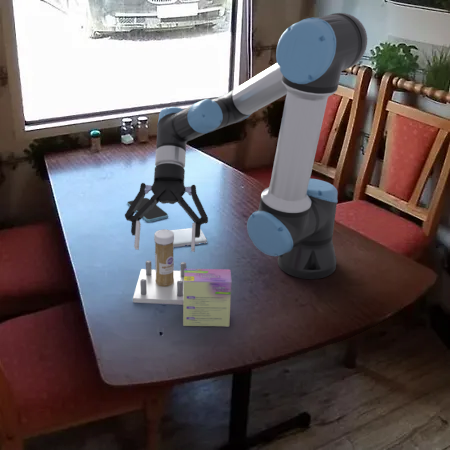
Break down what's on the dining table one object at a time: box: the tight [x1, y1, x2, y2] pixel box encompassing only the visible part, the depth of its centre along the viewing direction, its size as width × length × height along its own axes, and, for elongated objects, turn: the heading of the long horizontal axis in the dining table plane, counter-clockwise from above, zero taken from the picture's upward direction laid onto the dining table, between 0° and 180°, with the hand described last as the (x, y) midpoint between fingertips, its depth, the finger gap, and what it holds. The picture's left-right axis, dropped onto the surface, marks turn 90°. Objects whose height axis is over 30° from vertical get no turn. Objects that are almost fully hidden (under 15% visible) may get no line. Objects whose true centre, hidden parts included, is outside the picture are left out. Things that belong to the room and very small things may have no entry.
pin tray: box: [132, 260, 187, 306], centre depth 155 cm, size 13×13×5 cm
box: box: [182, 268, 232, 328], centre depth 143 cm, size 10×6×12 cm, turn 92°
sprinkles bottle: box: [153, 228, 175, 286], centre depth 153 cm, size 5×5×14 cm
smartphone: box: [126, 197, 169, 223], centre depth 194 cm, size 7×1×15 cm
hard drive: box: [169, 227, 208, 248], centre depth 179 cm, size 2×8×12 cm
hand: (164, 249), depth 155 cm, fingers open, 13 cm apart
